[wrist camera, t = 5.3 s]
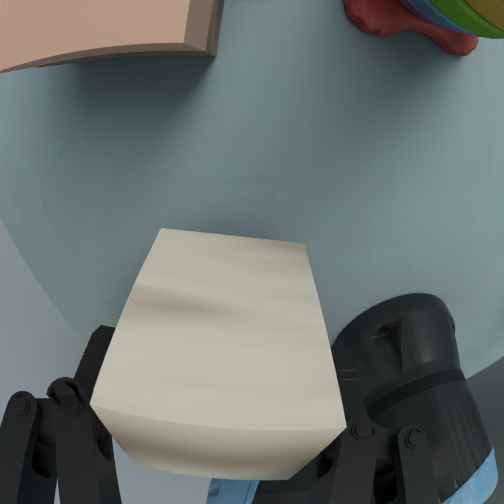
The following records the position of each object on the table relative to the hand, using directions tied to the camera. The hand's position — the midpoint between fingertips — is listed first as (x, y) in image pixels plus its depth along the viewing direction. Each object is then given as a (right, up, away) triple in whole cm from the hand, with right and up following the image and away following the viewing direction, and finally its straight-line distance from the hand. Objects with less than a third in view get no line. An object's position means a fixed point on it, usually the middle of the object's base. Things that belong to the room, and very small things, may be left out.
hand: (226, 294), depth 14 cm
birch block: (0, 0, 0) cm, 0 cm away
